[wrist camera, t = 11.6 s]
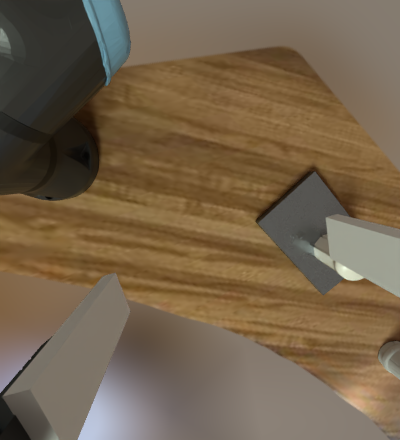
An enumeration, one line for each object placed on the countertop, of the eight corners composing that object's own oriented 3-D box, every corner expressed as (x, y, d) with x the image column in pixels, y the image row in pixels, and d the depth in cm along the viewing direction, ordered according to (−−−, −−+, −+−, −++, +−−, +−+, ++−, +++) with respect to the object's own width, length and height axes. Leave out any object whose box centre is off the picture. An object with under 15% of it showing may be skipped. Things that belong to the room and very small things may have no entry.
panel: (255, 221, 39) (266, 228, 34) (310, 171, 38) (330, 170, 32) (318, 291, 43) (337, 307, 38) (370, 248, 42) (397, 258, 37)
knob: (314, 266, 40) (340, 285, 33) (311, 236, 39) (337, 250, 32) (345, 258, 40) (378, 276, 33) (343, 229, 39) (376, 241, 32)
